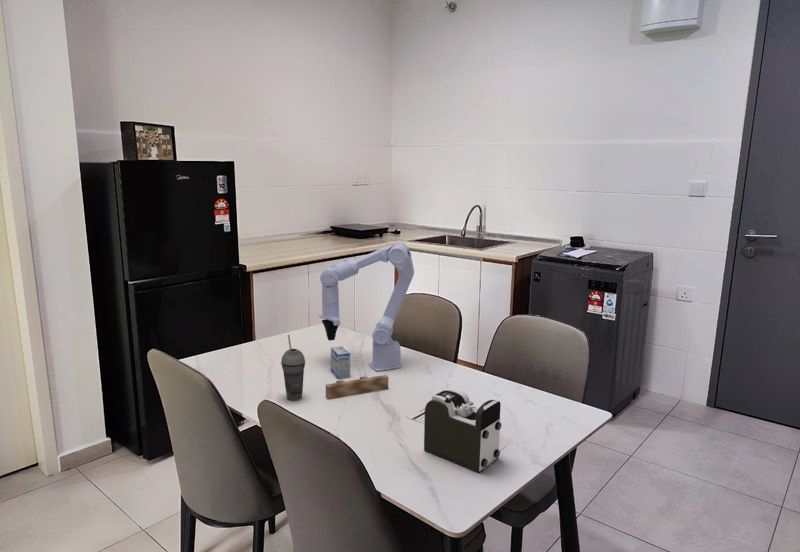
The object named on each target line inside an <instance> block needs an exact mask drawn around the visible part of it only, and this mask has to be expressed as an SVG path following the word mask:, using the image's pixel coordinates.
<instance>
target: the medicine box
mask: <svg viewBox="0 0 800 552" xmlns="http://www.w3.org/2000/svg"><path fill="white" fill-rule="evenodd" d="M330 371H331V372H330V373H332V374H333V375H334V376H335V378H337V379H338V380H342V379H347V378H351V353H350V352H349V351H348V350H347V349H345V347H343V346H334V347H331V348H330Z"/></svg>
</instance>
